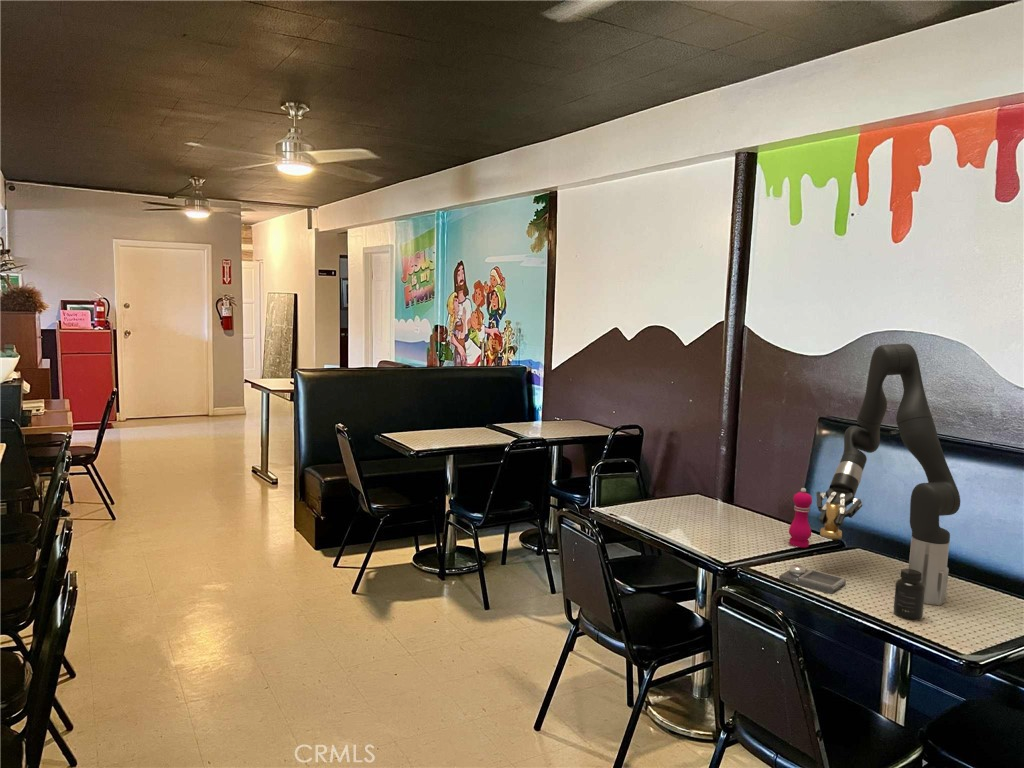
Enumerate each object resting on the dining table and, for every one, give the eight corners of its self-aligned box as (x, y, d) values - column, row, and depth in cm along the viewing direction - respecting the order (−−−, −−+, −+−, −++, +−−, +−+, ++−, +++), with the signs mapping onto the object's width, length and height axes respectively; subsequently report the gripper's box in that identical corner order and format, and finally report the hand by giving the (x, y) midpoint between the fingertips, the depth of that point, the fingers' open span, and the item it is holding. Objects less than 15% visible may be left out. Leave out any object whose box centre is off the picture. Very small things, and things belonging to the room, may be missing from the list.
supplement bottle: (896, 608, 195) (900, 565, 194) (924, 615, 191) (928, 571, 190) (890, 615, 190) (894, 571, 189) (919, 623, 186) (923, 578, 185)
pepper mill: (813, 548, 245) (818, 491, 243) (792, 547, 245) (796, 490, 244) (805, 541, 252) (810, 486, 251) (784, 541, 253) (789, 485, 251)
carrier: (846, 584, 212) (847, 573, 212) (832, 594, 203) (833, 583, 203) (795, 570, 222) (795, 560, 222) (779, 579, 214) (779, 569, 213)
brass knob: (844, 536, 220) (846, 504, 220) (837, 540, 216) (839, 508, 215) (824, 532, 225) (826, 500, 224) (817, 536, 220) (819, 504, 219)
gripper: (820, 468, 229) (803, 512, 221) (868, 476, 219) (851, 522, 211) (825, 482, 233) (808, 525, 225) (872, 490, 224) (856, 536, 216)
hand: (829, 523), depth 219 cm, fingers closed on brass knob, 3 cm apart
